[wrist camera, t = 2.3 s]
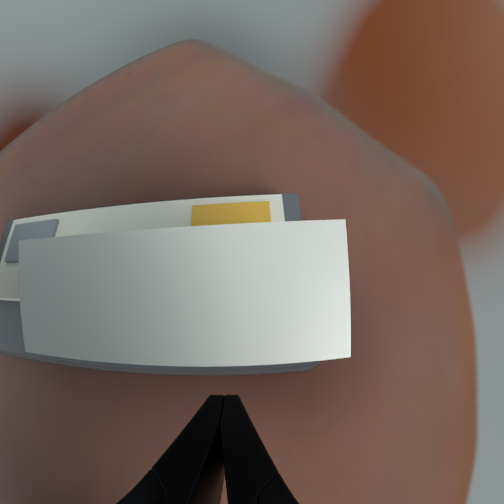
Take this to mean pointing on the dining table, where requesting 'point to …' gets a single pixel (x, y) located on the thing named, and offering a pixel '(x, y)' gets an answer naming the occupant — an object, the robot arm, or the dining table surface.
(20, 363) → the dining table surface
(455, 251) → the dining table surface
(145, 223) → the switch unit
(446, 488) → the dining table surface
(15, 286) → the lever slate
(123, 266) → the white switch lever
